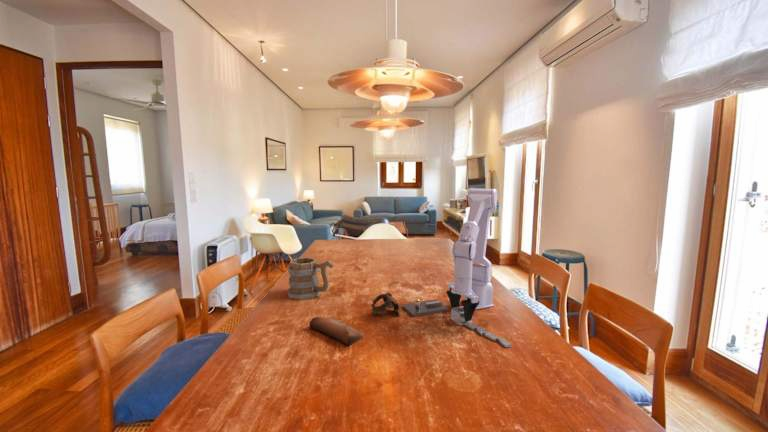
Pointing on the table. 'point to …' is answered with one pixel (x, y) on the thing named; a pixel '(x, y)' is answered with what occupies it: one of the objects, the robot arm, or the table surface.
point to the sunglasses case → (336, 330)
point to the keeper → (424, 307)
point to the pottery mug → (385, 304)
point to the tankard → (307, 278)
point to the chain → (488, 334)
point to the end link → (458, 315)
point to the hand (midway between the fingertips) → (461, 315)
